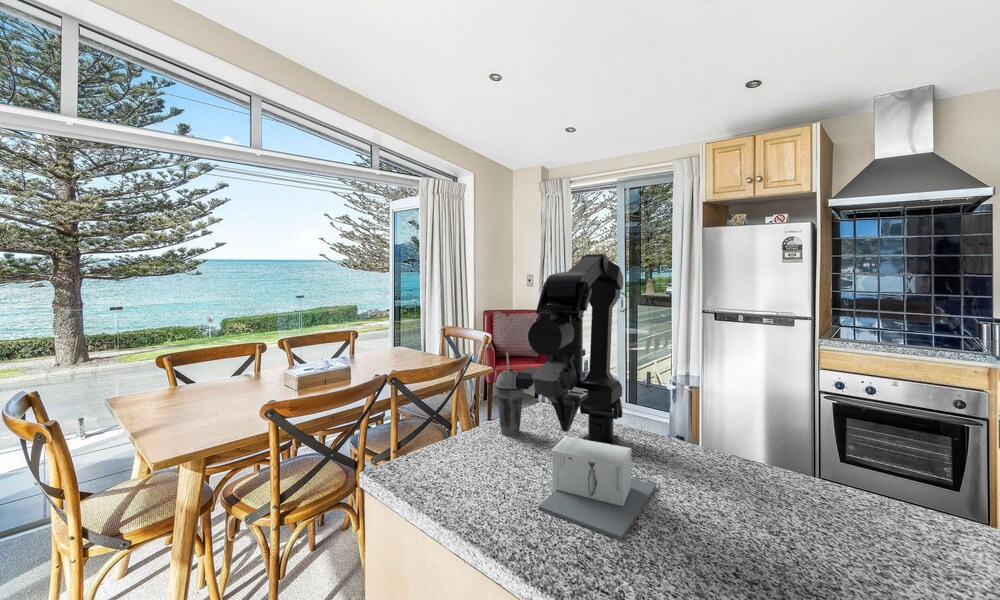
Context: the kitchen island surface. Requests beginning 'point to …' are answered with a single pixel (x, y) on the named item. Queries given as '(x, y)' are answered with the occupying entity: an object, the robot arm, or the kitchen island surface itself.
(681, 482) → the kitchen island surface
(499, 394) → the beverage cup
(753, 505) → the kitchen island surface
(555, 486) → the supplement box
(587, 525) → the mat
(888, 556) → the kitchen island surface
